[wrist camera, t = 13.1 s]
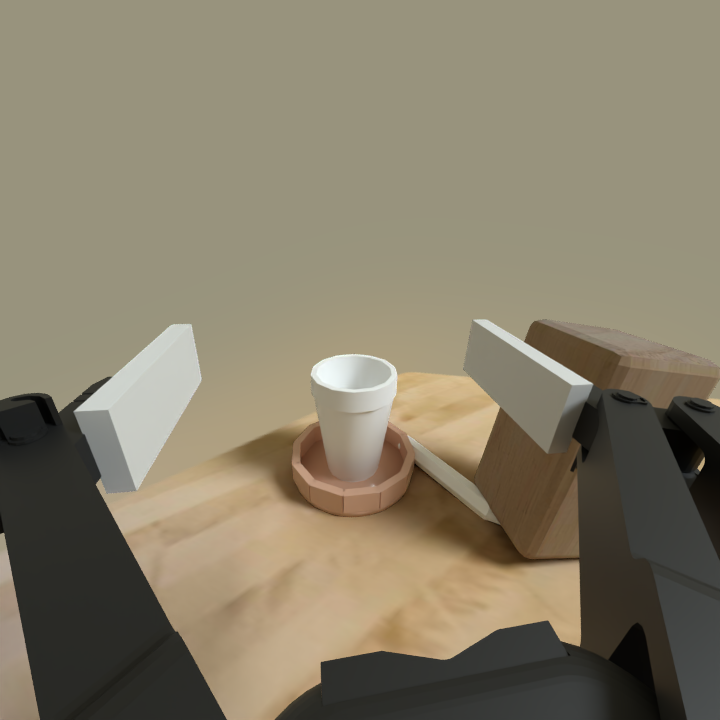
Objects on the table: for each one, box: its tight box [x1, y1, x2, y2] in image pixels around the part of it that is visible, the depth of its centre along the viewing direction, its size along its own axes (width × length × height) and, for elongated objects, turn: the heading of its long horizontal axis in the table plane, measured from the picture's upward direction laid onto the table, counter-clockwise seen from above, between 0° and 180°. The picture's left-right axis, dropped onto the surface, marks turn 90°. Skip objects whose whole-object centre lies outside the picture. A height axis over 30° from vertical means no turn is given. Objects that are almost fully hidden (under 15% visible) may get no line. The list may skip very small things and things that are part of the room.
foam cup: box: [311, 354, 397, 482], centre depth 38 cm, size 10×9×13 cm
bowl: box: [292, 421, 415, 517], centre depth 40 cm, size 15×15×3 cm
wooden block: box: [475, 319, 720, 559], centre depth 30 cm, size 10×10×20 cm
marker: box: [398, 436, 501, 525], centre depth 38 cm, size 3×2×16 cm
